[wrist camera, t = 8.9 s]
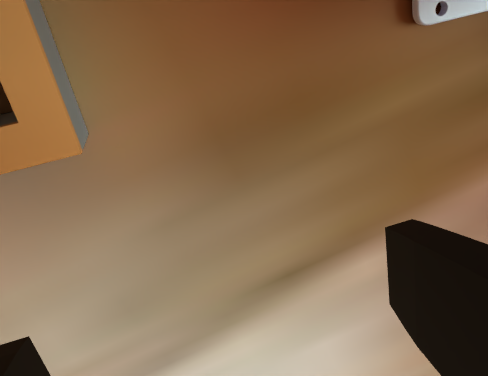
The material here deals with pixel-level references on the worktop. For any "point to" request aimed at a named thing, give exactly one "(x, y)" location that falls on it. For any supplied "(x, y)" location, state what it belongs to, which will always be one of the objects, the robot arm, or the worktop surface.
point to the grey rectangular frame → (35, 92)
